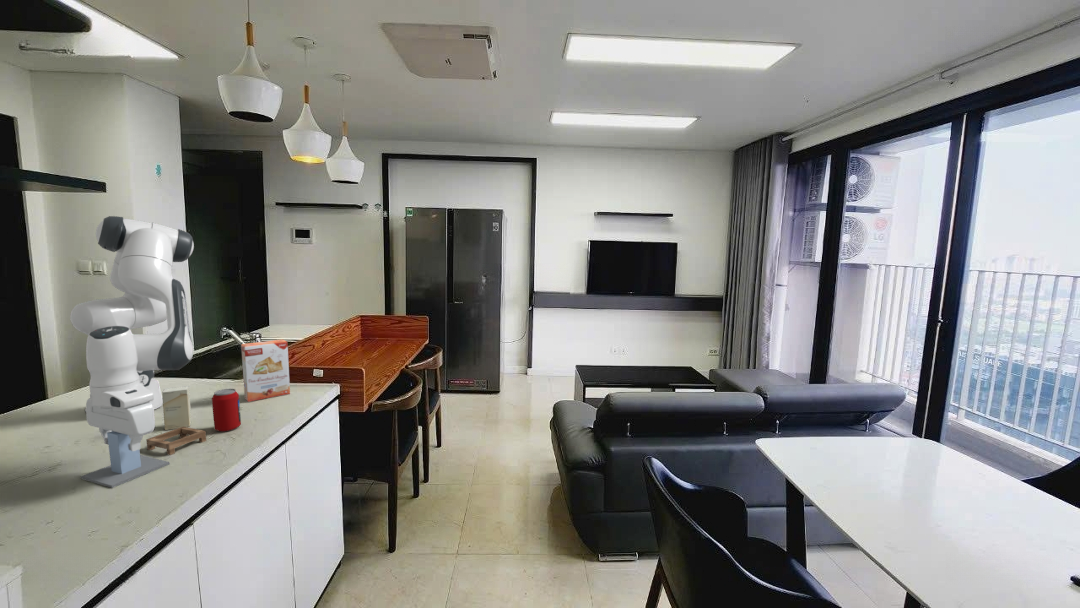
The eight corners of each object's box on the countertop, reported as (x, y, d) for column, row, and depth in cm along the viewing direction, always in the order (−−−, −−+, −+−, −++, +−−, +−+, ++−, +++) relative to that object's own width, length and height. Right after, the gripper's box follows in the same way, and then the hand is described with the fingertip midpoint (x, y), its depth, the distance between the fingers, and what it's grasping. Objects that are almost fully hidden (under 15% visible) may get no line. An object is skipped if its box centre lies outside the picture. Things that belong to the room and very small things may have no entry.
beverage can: (246, 424, 138) (243, 388, 137) (229, 433, 131) (226, 395, 130) (226, 423, 139) (223, 387, 137) (208, 432, 132) (205, 394, 130)
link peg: (111, 471, 108) (107, 432, 107) (131, 463, 112) (126, 426, 110) (121, 473, 107) (117, 435, 105) (141, 466, 110) (137, 428, 109)
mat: (80, 478, 105) (80, 476, 105) (139, 456, 117) (139, 454, 117) (111, 487, 101) (111, 485, 101) (169, 464, 113) (169, 461, 113)
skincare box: (164, 430, 133) (160, 392, 131) (167, 425, 137) (163, 388, 135) (190, 426, 136) (187, 389, 135) (192, 421, 140) (189, 385, 138)
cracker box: (248, 402, 157) (243, 346, 155) (244, 398, 162) (240, 343, 159) (291, 394, 167) (287, 340, 164) (286, 390, 171) (283, 338, 169)
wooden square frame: (147, 449, 121) (146, 439, 120) (184, 436, 129) (183, 426, 129) (170, 455, 118) (169, 444, 117) (206, 440, 126) (205, 431, 126)
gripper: (74, 391, 107) (80, 445, 109) (127, 403, 100) (133, 459, 102) (106, 384, 113) (112, 435, 115) (158, 394, 106) (163, 447, 108)
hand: (122, 446), depth 108 cm, fingers open, 8 cm apart
